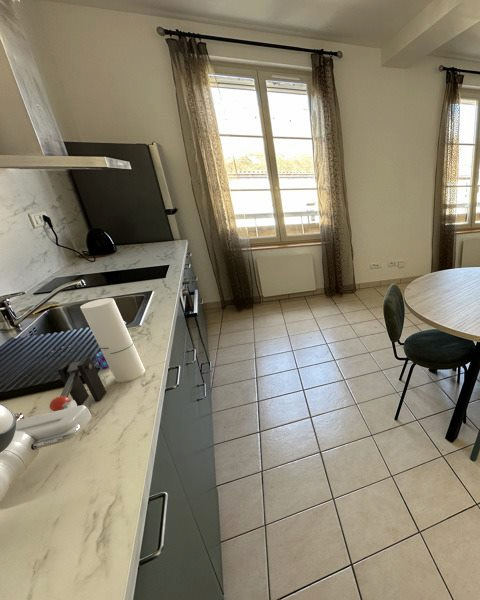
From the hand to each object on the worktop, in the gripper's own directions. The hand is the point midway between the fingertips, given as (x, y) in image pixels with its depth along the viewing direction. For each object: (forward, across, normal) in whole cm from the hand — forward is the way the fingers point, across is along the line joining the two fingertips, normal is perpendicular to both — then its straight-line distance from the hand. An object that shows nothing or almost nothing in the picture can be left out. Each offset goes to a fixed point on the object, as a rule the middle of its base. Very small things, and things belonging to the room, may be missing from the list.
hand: (45, 409), depth 73 cm
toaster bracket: (+15, 0, +10) cm, 18 cm away
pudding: (+36, +3, +10) cm, 38 cm away
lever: (+10, 0, +2) cm, 10 cm away
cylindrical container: (+24, -6, +10) cm, 27 cm away
